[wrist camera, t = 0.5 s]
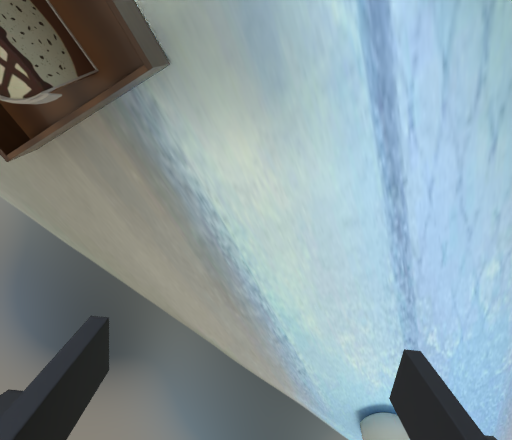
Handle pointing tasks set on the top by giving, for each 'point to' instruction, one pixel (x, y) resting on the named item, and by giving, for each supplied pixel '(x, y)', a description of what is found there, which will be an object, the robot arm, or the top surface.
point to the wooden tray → (93, 87)
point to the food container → (37, 53)
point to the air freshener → (383, 427)
